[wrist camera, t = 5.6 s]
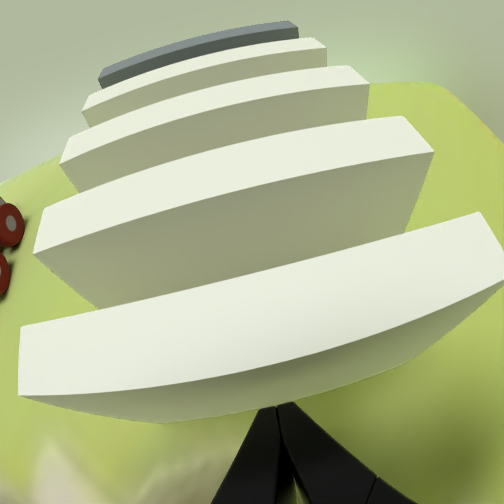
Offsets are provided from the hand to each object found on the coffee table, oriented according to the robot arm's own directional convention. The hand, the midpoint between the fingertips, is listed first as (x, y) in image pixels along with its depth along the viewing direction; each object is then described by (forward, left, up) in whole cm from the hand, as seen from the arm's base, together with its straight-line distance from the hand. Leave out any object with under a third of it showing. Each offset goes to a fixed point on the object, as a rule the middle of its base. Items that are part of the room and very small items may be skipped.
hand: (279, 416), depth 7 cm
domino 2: (+6, 0, -8) cm, 10 cm away
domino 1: (+2, 0, -8) cm, 8 cm away
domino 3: (+11, 0, -8) cm, 13 cm away
